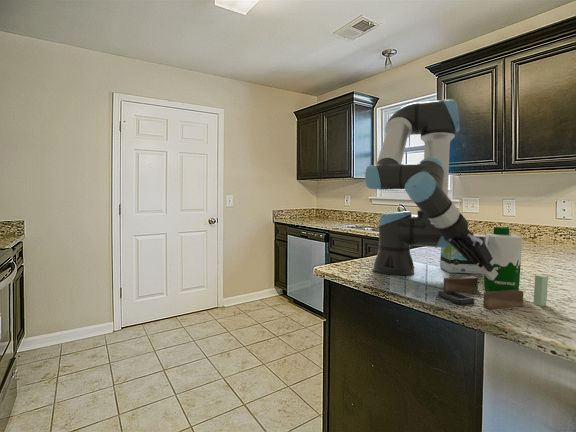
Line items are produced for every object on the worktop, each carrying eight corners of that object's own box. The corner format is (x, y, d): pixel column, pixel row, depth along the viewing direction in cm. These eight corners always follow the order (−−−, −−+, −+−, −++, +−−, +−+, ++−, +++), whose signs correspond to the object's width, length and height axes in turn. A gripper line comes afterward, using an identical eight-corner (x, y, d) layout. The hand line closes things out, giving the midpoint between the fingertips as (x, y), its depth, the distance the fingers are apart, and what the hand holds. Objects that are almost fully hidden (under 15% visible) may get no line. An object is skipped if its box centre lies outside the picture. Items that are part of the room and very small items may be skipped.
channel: (443, 290, 102) (443, 278, 102) (472, 288, 105) (473, 276, 105) (489, 309, 86) (490, 294, 85) (522, 306, 88) (523, 291, 88)
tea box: (449, 273, 125) (451, 235, 124) (439, 267, 135) (440, 232, 134) (490, 274, 124) (492, 235, 123) (477, 268, 134) (479, 232, 133)
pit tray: (438, 296, 96) (438, 291, 96) (452, 295, 98) (452, 290, 97) (458, 305, 89) (459, 299, 88) (474, 303, 90) (474, 298, 90)
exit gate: (482, 286, 107) (483, 262, 107) (487, 286, 108) (488, 262, 107) (540, 305, 89) (542, 276, 88) (546, 305, 89) (548, 276, 89)
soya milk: (512, 291, 102) (515, 227, 101) (523, 300, 93) (527, 230, 92) (480, 288, 105) (483, 226, 103) (488, 297, 96) (491, 229, 95)
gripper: (423, 227, 96) (468, 280, 102) (456, 232, 84) (505, 292, 89) (439, 209, 97) (483, 262, 103) (474, 211, 85) (522, 272, 90)
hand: (493, 276), depth 96 cm, fingers closed
